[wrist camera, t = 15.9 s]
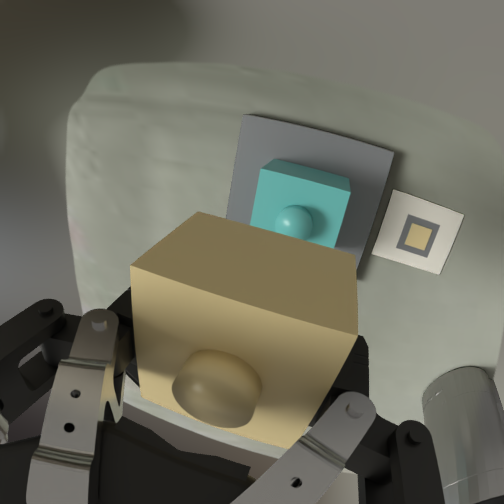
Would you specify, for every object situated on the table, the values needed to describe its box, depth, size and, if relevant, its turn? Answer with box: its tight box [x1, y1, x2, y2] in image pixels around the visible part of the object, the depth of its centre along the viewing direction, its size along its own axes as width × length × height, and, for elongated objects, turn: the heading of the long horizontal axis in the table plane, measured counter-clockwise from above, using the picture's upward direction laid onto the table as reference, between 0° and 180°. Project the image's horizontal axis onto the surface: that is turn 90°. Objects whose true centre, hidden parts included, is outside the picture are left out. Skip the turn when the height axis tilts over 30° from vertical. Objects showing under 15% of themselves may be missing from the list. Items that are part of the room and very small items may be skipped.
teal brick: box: [250, 159, 351, 249], centre depth 23 cm, size 6×6×6 cm
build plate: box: [226, 114, 394, 270], centre depth 25 cm, size 12×12×2 cm
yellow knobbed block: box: [130, 212, 358, 449], centre depth 10 cm, size 6×6×6 cm
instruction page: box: [372, 189, 464, 275], centre depth 25 cm, size 7×6×1 cm
